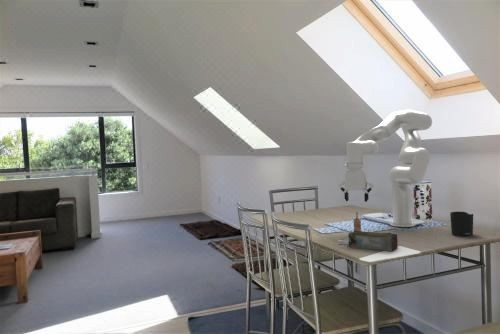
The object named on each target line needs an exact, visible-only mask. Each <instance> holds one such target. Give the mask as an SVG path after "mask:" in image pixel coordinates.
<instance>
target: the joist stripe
mask: <svg viewBox="0 0 500 334" xmlns="http://www.w3.org/2000/svg"><path fill="white" fill-rule="evenodd" d="M348 241H349V237H348V236H347V237H345V238H344V239H343V240H341V239H340V240H338V241H337V242H340V243H338V245H340V246H341V245H342V246H349V242H348Z"/></svg>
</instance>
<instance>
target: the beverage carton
mask: <svg viewBox="0 0 500 334" xmlns="http://www.w3.org/2000/svg"><path fill="white" fill-rule="evenodd" d="M347 237H349V241H348V242H349V245H348V247H350V248H357V249H365V250H375V251H376V250H377V251H386V252H394V251H395V250H396V249H398V248H399V246H398V244H399V243H398V240H399V239H398V234H397V233H391V232H373V231H372V232H371V231H362V230H361V231H354V230H353V231H351V232H350V233H348V236H347Z"/></svg>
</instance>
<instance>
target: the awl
mask: <svg viewBox="0 0 500 334" xmlns="http://www.w3.org/2000/svg"><path fill="white" fill-rule="evenodd" d="M353 231H362V223H361V219H360V217H359V212H358V211H355V217H354V219H353Z"/></svg>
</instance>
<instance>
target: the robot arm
mask: <svg viewBox="0 0 500 334" xmlns="http://www.w3.org/2000/svg"><path fill="white" fill-rule="evenodd" d="M432 124H433V120H432V117H431V116H430V115H429V114H428V113H425V112H421V111H417V110H412V109H406V110H405V109H404V110H398V111H393V112H391V113H390V114H389V115H388V116H387V117H386V118H385V119H384V120H383V121H382V122H380V124H378V125H377V126H375V127H373V128H371V129H370V130H368V131H366V132H364V133H363V134H361V135H360V136H358V138H356V140H354V141H348V142H347V144H346V158H347V159H346V161H347V163H346V164H344V167H345V168H346V169H345V173H344V181H342V182H341V183H339V184H338V186H339V187H338V188H340V190H341V192H343V194H344V200H345V202H348V201H349V197H350V196H349V191H352V190H353V191H354V190H356V191H357V190H358V191H359V190H363V192H364V193H363V194H364V195H363V196H364V202H368V201H369V193H370V192H371V191H372V190H373V188H374V186H375V184H374V183H372V182H370V181H368V180H367V175H366V169H365V168H364V156H365V157H367V156H369V157H370V156H374V155H376V154H377V153H378V151H379V149H380V148H379V147H380V146H379V145H378V143H379V142H384V141H386V140H388V139H390V138H392V136H393V135H394V134H395V133H396V132H397V131H398V130H399V129H401V130H402V132H403V135H404V141H403V144H402V147H401V149H400V151H399V156H398V162H399V164H401V165H397V166H394V167H392V168H391V170H390V171H389V180H390V185H391V195H392V198H391V199H392V201H391V202H392V221H393V223H391V222H392V221H390V222H389V225H390V226H392V227H397V228H412V227H415V226H416V223H415V222H414V221H413V210H412V203H413V202H412V189H411V187H410V185H411V186H416V185H419V184H421V183H422V182H423V180H424V178H425V175H426V172H427V169H428V166H429V164H430V159H431V156H430V152H429V150H428V149H427V148H424V147H421V145H422V138H421V135H420V134H419V133H418V131H426V130H429V129H431V126H432ZM368 186H369V188H367V187H368ZM412 222H413V223H412Z"/></svg>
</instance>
